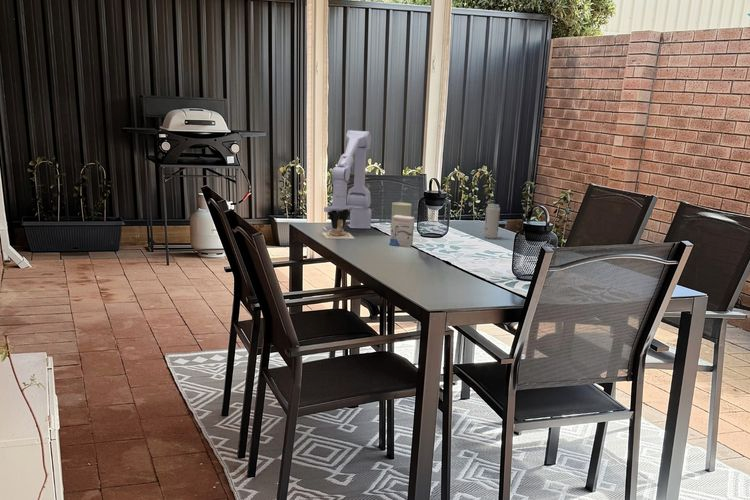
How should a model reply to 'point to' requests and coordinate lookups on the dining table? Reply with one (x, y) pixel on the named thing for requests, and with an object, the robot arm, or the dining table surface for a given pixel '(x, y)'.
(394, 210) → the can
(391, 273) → the dining table surface
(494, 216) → the energy drink can
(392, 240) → the ink box
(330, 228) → the ink pad
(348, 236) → the mat
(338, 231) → the stamp
